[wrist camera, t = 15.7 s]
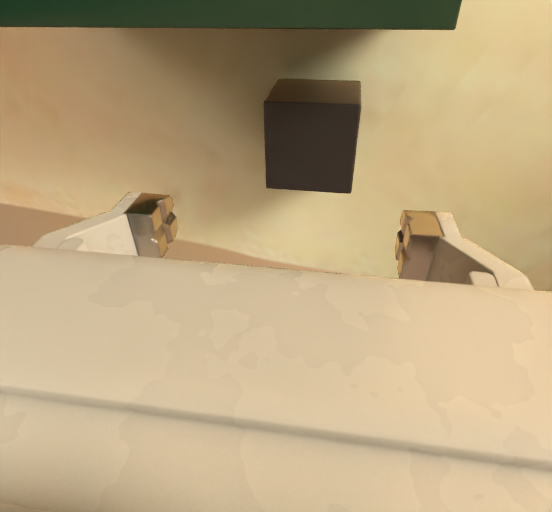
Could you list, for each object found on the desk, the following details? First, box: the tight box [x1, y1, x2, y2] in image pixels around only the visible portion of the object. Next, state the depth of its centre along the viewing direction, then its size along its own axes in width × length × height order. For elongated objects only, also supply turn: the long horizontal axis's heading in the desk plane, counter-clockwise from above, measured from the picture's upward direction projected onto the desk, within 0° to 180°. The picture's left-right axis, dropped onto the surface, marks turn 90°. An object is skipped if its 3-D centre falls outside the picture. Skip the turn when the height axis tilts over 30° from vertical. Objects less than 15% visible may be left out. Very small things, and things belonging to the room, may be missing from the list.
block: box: [264, 79, 361, 193], centre depth 20 cm, size 4×4×4 cm
